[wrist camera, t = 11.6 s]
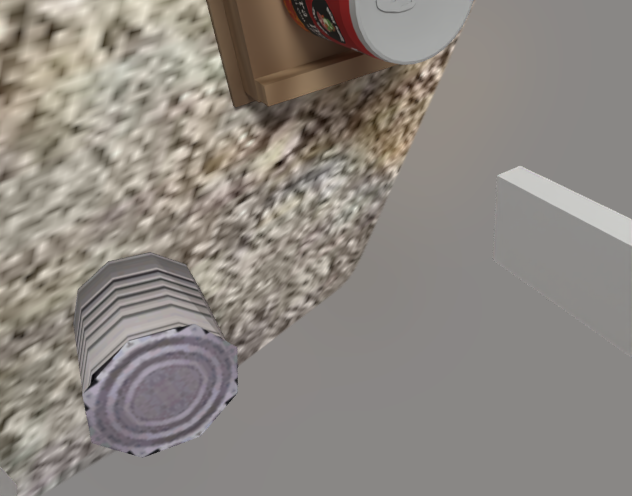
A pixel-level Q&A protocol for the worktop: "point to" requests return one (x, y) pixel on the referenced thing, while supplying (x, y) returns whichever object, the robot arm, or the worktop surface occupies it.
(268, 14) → the brown square tray
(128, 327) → the can
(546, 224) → the robot arm
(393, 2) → the canned food
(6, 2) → the worktop surface
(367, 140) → the worktop surface
